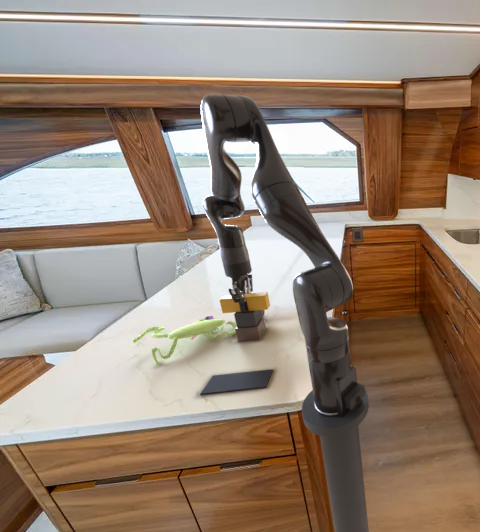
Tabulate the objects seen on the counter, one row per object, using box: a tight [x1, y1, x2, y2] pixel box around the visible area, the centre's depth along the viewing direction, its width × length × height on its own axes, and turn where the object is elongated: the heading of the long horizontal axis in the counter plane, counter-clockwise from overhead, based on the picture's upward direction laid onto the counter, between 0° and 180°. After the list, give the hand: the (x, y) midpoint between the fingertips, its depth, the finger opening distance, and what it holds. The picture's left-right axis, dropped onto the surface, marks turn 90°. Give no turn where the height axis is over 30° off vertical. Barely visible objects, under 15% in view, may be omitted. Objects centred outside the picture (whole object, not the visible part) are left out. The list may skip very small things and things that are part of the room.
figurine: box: [131, 315, 237, 366], centre depth 99 cm, size 18×27×6 cm
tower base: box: [235, 316, 267, 343], centre depth 101 cm, size 7×7×5 cm
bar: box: [218, 291, 271, 314], centre depth 98 cm, size 14×3×5 cm, turn 97°
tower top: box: [233, 310, 262, 328], centre depth 99 cm, size 6×6×5 cm
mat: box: [199, 368, 274, 396], centre depth 80 cm, size 16×7×1 cm, turn 97°
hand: (246, 308), depth 98 cm, fingers closed on bar, 3 cm apart
